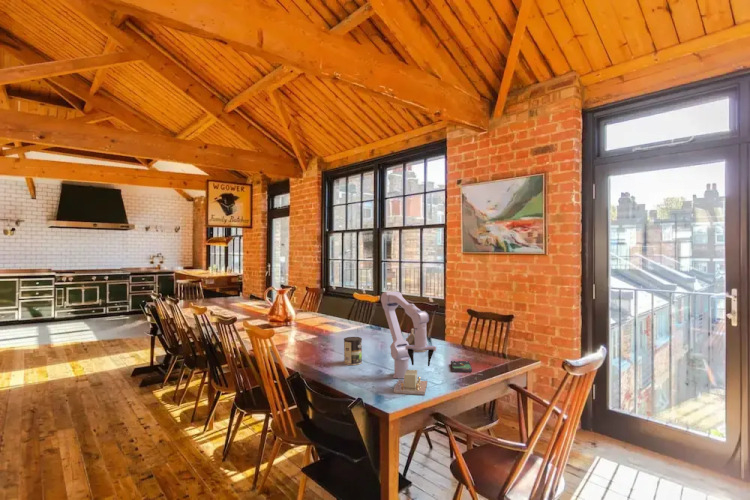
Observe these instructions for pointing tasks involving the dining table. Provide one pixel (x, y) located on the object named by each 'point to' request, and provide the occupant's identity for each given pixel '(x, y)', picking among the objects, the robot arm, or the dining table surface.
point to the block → (410, 378)
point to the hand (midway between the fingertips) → (420, 365)
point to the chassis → (418, 390)
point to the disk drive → (461, 366)
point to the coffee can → (352, 350)
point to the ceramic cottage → (413, 340)
